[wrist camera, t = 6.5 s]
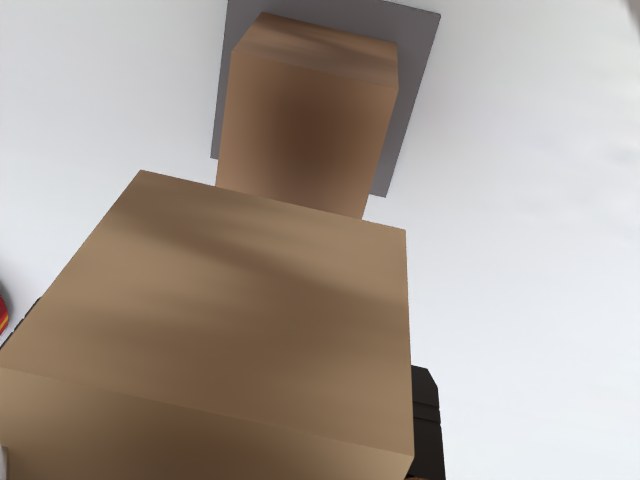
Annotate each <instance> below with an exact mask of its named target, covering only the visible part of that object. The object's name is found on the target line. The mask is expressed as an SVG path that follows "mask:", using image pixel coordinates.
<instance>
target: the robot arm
mask: <svg viewBox="0 0 640 480" xmlns="http://www.w3.org/2000/svg"><path fill="white" fill-rule="evenodd" d="M40 298H41V297H40ZM40 298H38V299H37V301H36V302H35V303H34V304H33V306H32V307H31V308H30V310H29V311H28V312H27V313H26V315H25V318H26V316H27V315H28V314H29V313H30V311H31V310H32V309H33V307H34V306H35V305H36V304H37V302H38V301H39V300H40ZM25 318H24V319H25ZM24 319H22V320H21V321H20V322H19V324H18V325H17V326H16V327H15V329H14V332H15V331H16V329H17V328H18V327H19V325H20V324H21V323H22V322H23V320H24ZM14 332H12V333H11V334H10V335H9V336H8V338H7V339H6V340H5V341H4V343H3V344H2V345H1V347H0V350H1V349H2V347H3V346H4V345H5V343H6V342H7V341H8V340H9V338H10V337H11V336H12V334H13V333H14ZM410 357H411V353H410ZM411 382H412V407H413V432H414V459H413V461H412V463H411V465H410V467H409V470H408V472H407V474H406V476H405V478H404V480H446V477H445V465H444V454H443V442H442V431H441V426H440V423H441V420H440V411H439V397H438V387H437V385H436V384H435V382H434V380H433V378H432V376H431V374H430V373H429V371H428V369H427V368H422V367H418V366H413V365H411ZM9 478H10V460H9V452H8V447H4V446H1V443H0V480H9Z"/></svg>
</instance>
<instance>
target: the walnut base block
mask: <svg viewBox="0 0 640 480" xmlns="http://www.w3.org/2000/svg"><path fill="white" fill-rule="evenodd" d="M398 90H399V84H398V61H397V43H393V42H388V41H384V40H380V39H376V38H371V37H367V36H363V35H359V34H354V33H350V32H346V31H342V30H337V29H333V28H329V27H325V26H320V25H316V24H312V23H308V22H303V21H299V20H295V19H291V18H286V17H282V16H278V15H274V14H270V13H265V12H261V13H260V15H259V16H258V17H257V19H256V20H255V21H254V22H253V24H252V25H251V26H250V28H249V29H248V30H247V31H246V33H245V34H244V35H243V37H242V38H241V39H240V40H239V42H238V43H237V44H236V46H235V47H234V48H233V50H232V52H231V60H230V68H229V77H228V85H227V93H226V101H225V110H224V118H223V126H222V134H221V143H220V151H219V159H218V167H217V176H216V184H215V187H219V188H224V189H228V190H232V191H237V192H241V193H246V194H250V195H254V196H259V197H263V198H268V199H272V200H276V201H281V202H285V203H290V204H294V205H298V206H303V207H307V208H312V209H316V210H320V211H325V212H329V213H333V214H338V215H342V216H347V217H351V218H355V219H360V220H362V216H363V213H364V209H365V206H366V202H367V199H368V195H369V192H370V188H371V185H372V181H373V178H374V174H375V171H376V167H377V164H378V160H379V157H380V153H381V150H382V146H383V143H384V139H385V136H386V132H387V129H388V125H389V122H390V118H391V115H392V111H393V108H394V104H395V101H396V97H397V94H398Z"/></svg>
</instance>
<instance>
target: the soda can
mask: <svg viewBox="0 0 640 480" xmlns="http://www.w3.org/2000/svg"><path fill="white" fill-rule="evenodd" d="M7 325H8V312H7V308H6V305H5V303H4V301H3V299H2V297H1V296H0V338H1V337H2V335H3V333H4V332H5V330H6V328H7Z"/></svg>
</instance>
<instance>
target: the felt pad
mask: <svg viewBox="0 0 640 480" xmlns="http://www.w3.org/2000/svg"><path fill="white" fill-rule="evenodd" d="M261 12H265V13H270V14H274V15H278V16H282V17H286V18H291V19H295V20H299V21H303V22H308V23H312V24H316V25H320V26H325V27H329V28H333V29H337V30H342V31H346V32H350V33H354V34H359V35H363V36H367V37H371V38H376V39H380V40H384V41H388V42H393V43H397V61H398V84H399V90H398V94H397V97H396V101H395V104H394V108H393V111H392V115H391V118H390V122H389V125H388V129H387V132H386V136H385V139H384V143H383V146H382V150H381V153H380V157H379V160H378V164H377V167H376V171H375V174H374V178H373V181H372V185H371V188H370V192H369V194H372V195H376V196H381V197H385V198H386V194H387V191H388V188H389V185H390V181H391V178H392V175H393V172H394V168H395V165H396V162H397V158H398V155H399V152H400V149H401V145H402V142H403V139H404V136H405V132H406V129H407V126H408V122H409V119H410V116H411V113H412V109H413V106H414V103H415V99H416V96H417V93H418V90H419V86H420V83H421V80H422V77H423V73H424V70H425V67H426V63H427V60H428V57H429V54H430V50H431V47H432V44H433V41H434V37H435V34H436V31H437V27H438V24H439V21H440V18H441V15H440V14H437V13H433V12H429V11H424V10H420V9H416V8H412V7H408V6H403V5H399V4H395V3H391V2H387V1H382V0H228V6H227V15H226V24H225V33H224V41H223V50H222V59H221V68H220V77H219V86H218V95H217V104H216V113H215V121H214V130H213V139H212V148H211V157H210V158H213V159H219V151H220V143H221V134H222V126H223V118H224V110H225V101H226V93H227V85H228V77H229V68H230V60H231V52H232V50H233V48H234V47H235V46H236V44H237V43H238V42H239V40H240V39H241V38H242V37H243V35H244V34H245V33H246V31H247V30H248V29H249V28H250V26H251V25H252V24H253V22H254V21H255V20H256V19H257V17H258V16H259V15H260V13H261Z"/></svg>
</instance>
